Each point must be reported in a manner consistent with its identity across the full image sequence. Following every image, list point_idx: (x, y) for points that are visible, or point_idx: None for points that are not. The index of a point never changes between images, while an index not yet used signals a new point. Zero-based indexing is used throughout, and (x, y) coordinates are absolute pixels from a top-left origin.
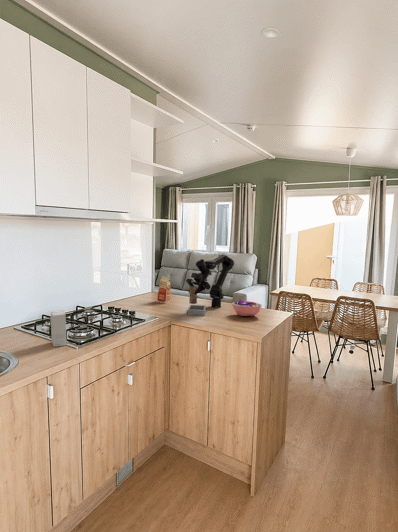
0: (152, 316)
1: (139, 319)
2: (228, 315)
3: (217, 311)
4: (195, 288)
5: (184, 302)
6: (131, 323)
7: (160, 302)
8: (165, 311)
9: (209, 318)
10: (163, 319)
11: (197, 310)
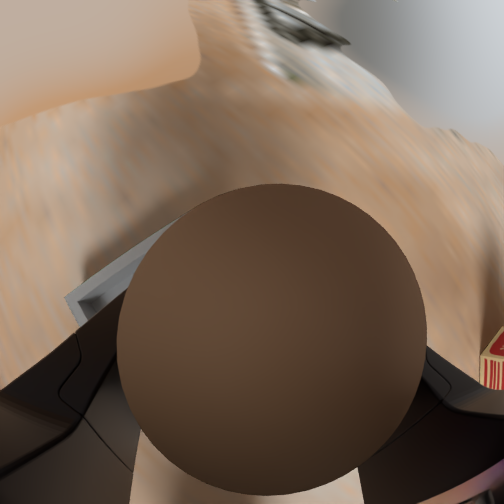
0: (317, 81)
1: (306, 38)
2: None
3: None
4: (135, 302)
5: None
6: (278, 9)
7: (494, 337)
8: (371, 198)
9: (29, 262)
10: (236, 68)
11: (115, 260)
